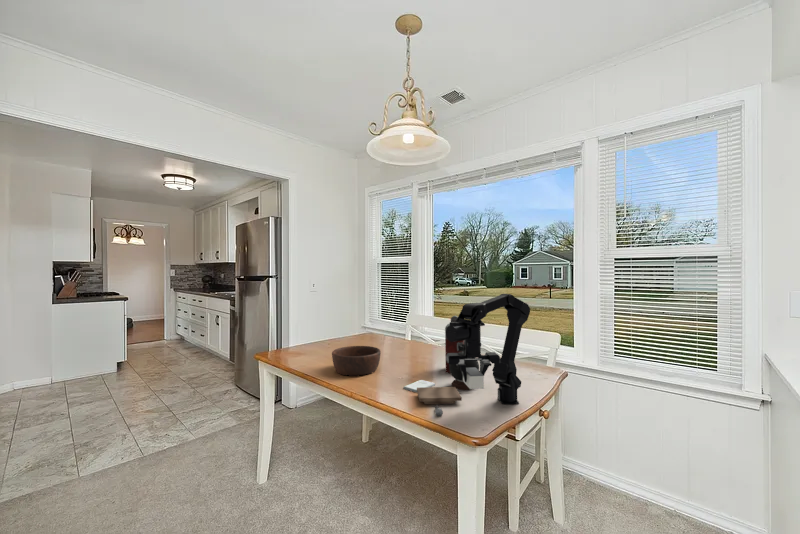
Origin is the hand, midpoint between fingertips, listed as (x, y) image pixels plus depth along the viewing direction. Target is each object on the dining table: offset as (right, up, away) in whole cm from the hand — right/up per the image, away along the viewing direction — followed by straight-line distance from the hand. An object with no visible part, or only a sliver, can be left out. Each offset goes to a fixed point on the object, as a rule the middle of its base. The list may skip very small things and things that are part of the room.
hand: (473, 381), depth 126 cm
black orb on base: (+2, -11, +28) cm, 30 cm away
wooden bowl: (-49, -12, +53) cm, 73 cm away
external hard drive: (-18, -12, +27) cm, 34 cm away
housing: (0, -1, 0) cm, 1 cm away
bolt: (-13, -11, -1) cm, 17 cm away
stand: (-11, -11, +11) cm, 20 cm away
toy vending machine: (+2, -12, +52) cm, 53 cm away
